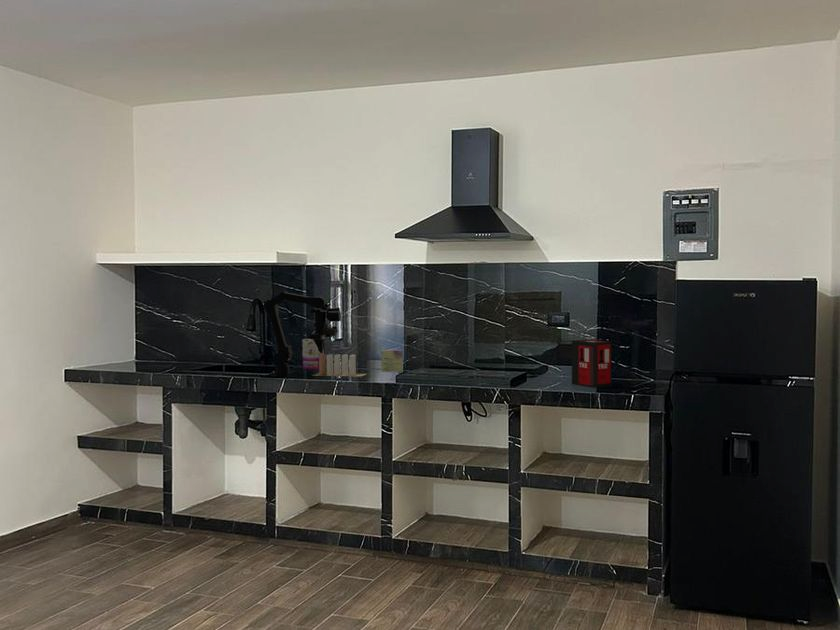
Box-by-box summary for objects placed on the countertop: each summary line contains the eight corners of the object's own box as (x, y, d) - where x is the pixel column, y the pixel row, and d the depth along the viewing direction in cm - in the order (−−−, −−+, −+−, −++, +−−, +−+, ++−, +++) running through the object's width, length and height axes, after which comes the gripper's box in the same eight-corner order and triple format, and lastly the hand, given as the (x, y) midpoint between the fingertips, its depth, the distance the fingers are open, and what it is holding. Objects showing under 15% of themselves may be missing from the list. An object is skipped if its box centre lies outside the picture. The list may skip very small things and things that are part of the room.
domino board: (311, 377, 410) (311, 375, 410) (318, 375, 420) (318, 373, 420) (361, 378, 404) (361, 376, 404) (367, 375, 414) (367, 373, 414)
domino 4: (342, 375, 409) (341, 355, 409) (345, 374, 414) (344, 354, 414) (345, 375, 409) (344, 355, 408) (348, 374, 414) (347, 354, 413)
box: (401, 371, 430) (400, 349, 430) (402, 373, 425) (402, 350, 424) (381, 372, 429) (381, 349, 428) (382, 373, 423) (382, 350, 422)
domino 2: (326, 375, 411) (326, 355, 410) (330, 373, 416) (329, 354, 415) (329, 375, 411) (329, 355, 410) (333, 374, 415) (332, 354, 415)
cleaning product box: (571, 383, 377) (571, 340, 376) (586, 382, 382) (586, 339, 380) (596, 388, 363) (596, 343, 362) (611, 386, 367) (611, 341, 366)
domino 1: (319, 374, 412) (318, 355, 411) (322, 373, 417) (322, 354, 416) (322, 375, 411) (322, 355, 411) (325, 373, 416) (325, 354, 416)
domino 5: (349, 375, 408) (349, 355, 408) (352, 374, 413) (352, 354, 413) (352, 375, 408) (352, 355, 407) (355, 374, 413) (355, 354, 412)
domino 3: (334, 375, 410) (334, 355, 410) (337, 374, 415) (337, 354, 414) (337, 375, 410) (337, 355, 409) (340, 374, 415) (340, 354, 414)
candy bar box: (324, 369, 444) (324, 339, 443) (319, 370, 440) (318, 339, 439) (307, 368, 450) (307, 338, 449) (302, 369, 445) (301, 339, 444)
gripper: (329, 322, 402) (330, 354, 403) (341, 320, 420) (342, 351, 421) (308, 322, 405) (308, 354, 405) (320, 320, 423) (321, 351, 423)
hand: (321, 352), depth 414 cm, fingers closed
